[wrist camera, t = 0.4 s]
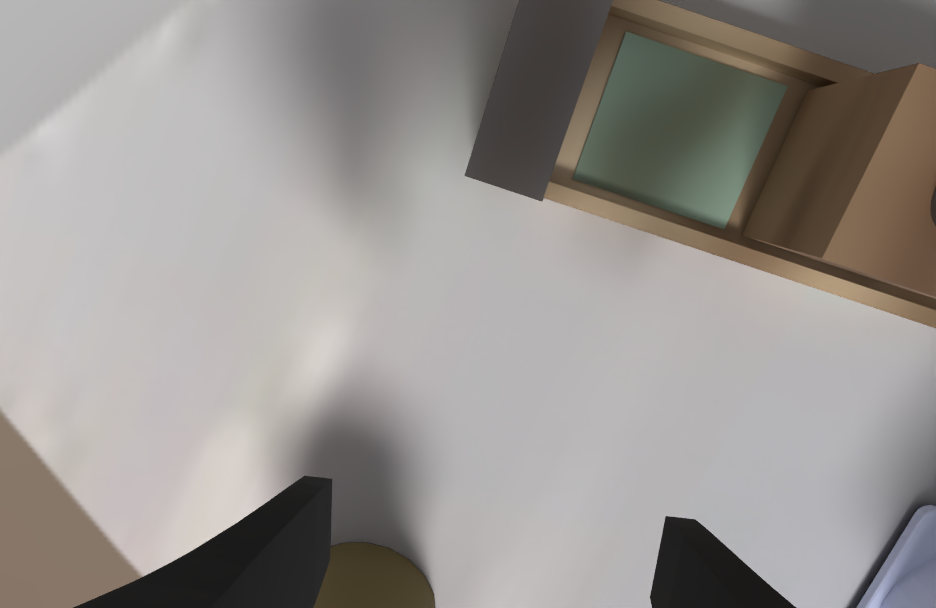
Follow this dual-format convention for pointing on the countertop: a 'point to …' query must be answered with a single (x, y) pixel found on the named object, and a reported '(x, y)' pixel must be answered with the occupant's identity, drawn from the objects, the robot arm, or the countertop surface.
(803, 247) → the carriage
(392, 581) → the cork
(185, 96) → the countertop surface
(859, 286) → the rail
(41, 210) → the countertop surface
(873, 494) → the countertop surface
